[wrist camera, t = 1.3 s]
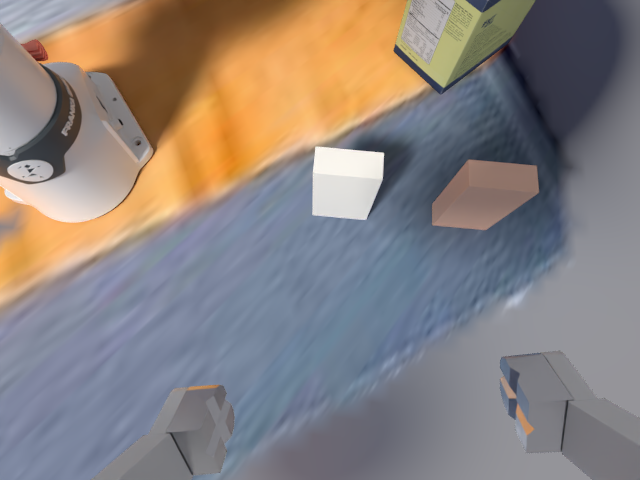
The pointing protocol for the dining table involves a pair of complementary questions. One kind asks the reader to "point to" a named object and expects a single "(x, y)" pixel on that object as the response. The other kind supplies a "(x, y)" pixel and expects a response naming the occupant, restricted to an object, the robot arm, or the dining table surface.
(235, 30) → the dining table surface
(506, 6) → the protein box
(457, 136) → the dining table surface
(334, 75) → the dining table surface
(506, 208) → the two pip tile
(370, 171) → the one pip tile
